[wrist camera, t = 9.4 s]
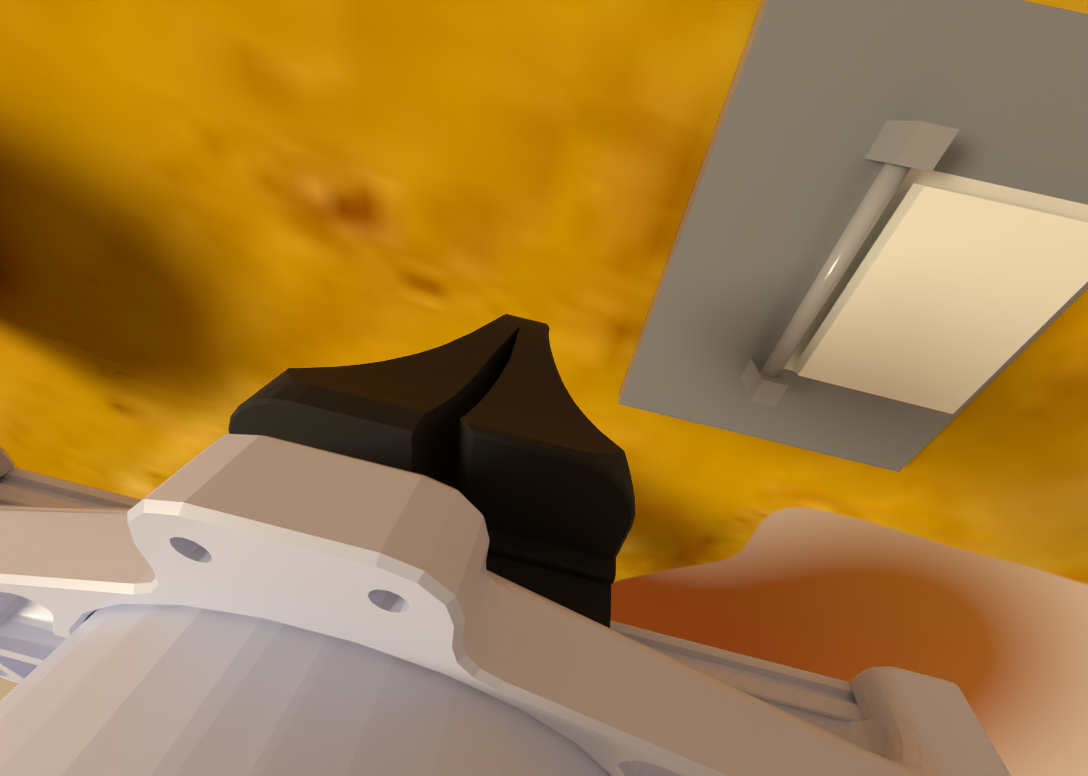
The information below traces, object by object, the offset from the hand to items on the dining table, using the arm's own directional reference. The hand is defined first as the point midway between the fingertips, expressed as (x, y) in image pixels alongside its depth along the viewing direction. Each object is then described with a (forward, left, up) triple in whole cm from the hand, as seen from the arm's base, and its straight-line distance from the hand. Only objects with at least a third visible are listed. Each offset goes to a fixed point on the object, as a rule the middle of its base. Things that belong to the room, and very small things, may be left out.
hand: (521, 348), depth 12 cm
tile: (+2, -15, -7) cm, 17 cm away
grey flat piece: (+2, -13, -9) cm, 16 cm away
